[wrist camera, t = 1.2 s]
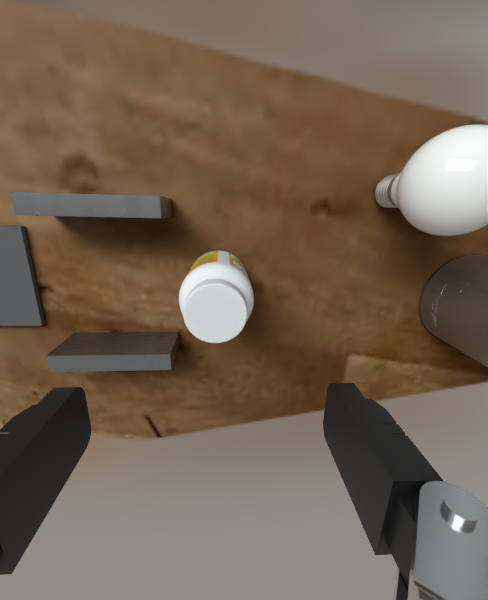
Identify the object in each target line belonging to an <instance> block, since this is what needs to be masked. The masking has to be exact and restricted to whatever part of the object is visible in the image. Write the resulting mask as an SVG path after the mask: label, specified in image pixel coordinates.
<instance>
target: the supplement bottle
mask: <svg viewBox="0 0 488 600" xmlns="http://www.w3.org/2000/svg"><path fill="white" fill-rule="evenodd" d="M179 304H180V309H181V312H182V314H183V317H184V321H185V324H186V326H187V328H188V329H189V331H190V332H191V333H192V334H193V335H194V336H195V337H197V338H198V339H200V340H203V341H205V342H209V343H222V342H226V341H228V340H231V339H232V338H234V337H235V336H237V335H238V334H239V333H240V332H241V331H242V329H243V327H244V326H245V323H246V321H247V320H248V318H249V316H250V315H251V312H252V309H253V305H254V294H253V289H252V286H251V283H250V280H249V278H248V275H247V272H246V269H245V267H244V265H243V264H242V262H241V261H240V260H239V259H238V258H237V257H236V256H234V255H233V254H231V253H228V252H225V251H211V252H208V253H205V254H203V255H202V256H200V257H199V258H198V259H197V260H196V261H195V262H194V264H193V265H192V267H191V269H190V271H189V272H188V274H187V276H186V277H185V279H184V281H183V283H182V285H181V289H180V293H179Z"/></svg>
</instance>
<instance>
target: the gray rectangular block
mask: <svg viewBox="0 0 488 600" xmlns="http://www.w3.org/2000/svg"><path fill="white" fill-rule="evenodd" d="M44 324H45V320H44V316H43V311H42V306H41V301H40V297H39V292H38V287H37V283H36V278H35V273H34V268H33V264H32V259H31V254H30V250H29V245H28V240H27V235H26V231H25V226H0V326H42V325H44Z"/></svg>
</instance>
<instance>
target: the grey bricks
mask: <svg viewBox="0 0 488 600" xmlns="http://www.w3.org/2000/svg"><path fill="white" fill-rule="evenodd" d="M10 195H11V200H12V204H13V209H14V214H15V215H27V216H76V217H126V218H167V217H172V202H171V199H170V198H166V197H162V196H138V195H100V194H61V193H22V192H10ZM178 348H179V332H134V333H74V334H72V335H71V336H70V337H69V338H67V339H66V340H65V341H64V342H62V343H61V344H60V345H59V346H58V347H56V348H55V349H54V350H53V351H51V352H50V353H49V354H48V355H46V359H47V364H48V368H49V372H80V371H137V370H171V369H172V366H173V363H174V360H175V357H176V354H177V351H178Z"/></svg>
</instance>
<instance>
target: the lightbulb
mask: <svg viewBox="0 0 488 600" xmlns="http://www.w3.org/2000/svg"><path fill="white" fill-rule="evenodd" d="M375 197H376V200H377V202H378V204H379V205H380V206H382V207H385V208H399V209H400V211H401V213H402V214H403V216H404V217H405V219H406V220H407V221H408V222H409V223H410V224H411V225H412V226H414V227H415V228H417V229H418V230H420V231H423V232H425V233H428V234H432V235H437V236H456V235H462V234H466V233H470V232H473V231H476V230H478V229H481V228H483V227H485V226H487V225H488V125H466V126H461V127H457V128H453V129H450V130H448V131H445V132H443V133H441V134H439V135H437V136H435V137H433V138H432V139H430V140H429V141H428V142H426V143H425V144H424V145H422V146H421V147H420V148H419V149H418V150H417V151H416V152H415V153H414V154H413V155H412V157H411V158H410V159H409V161H408V162H407V163H406V165H405V167H404V169H403V171H402V172H401V173H399V174H394V175H389V176H386V177H385V178H383V179H382V180H381V181H380V182H379V183H378V185H377V187H376V191H375Z"/></svg>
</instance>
